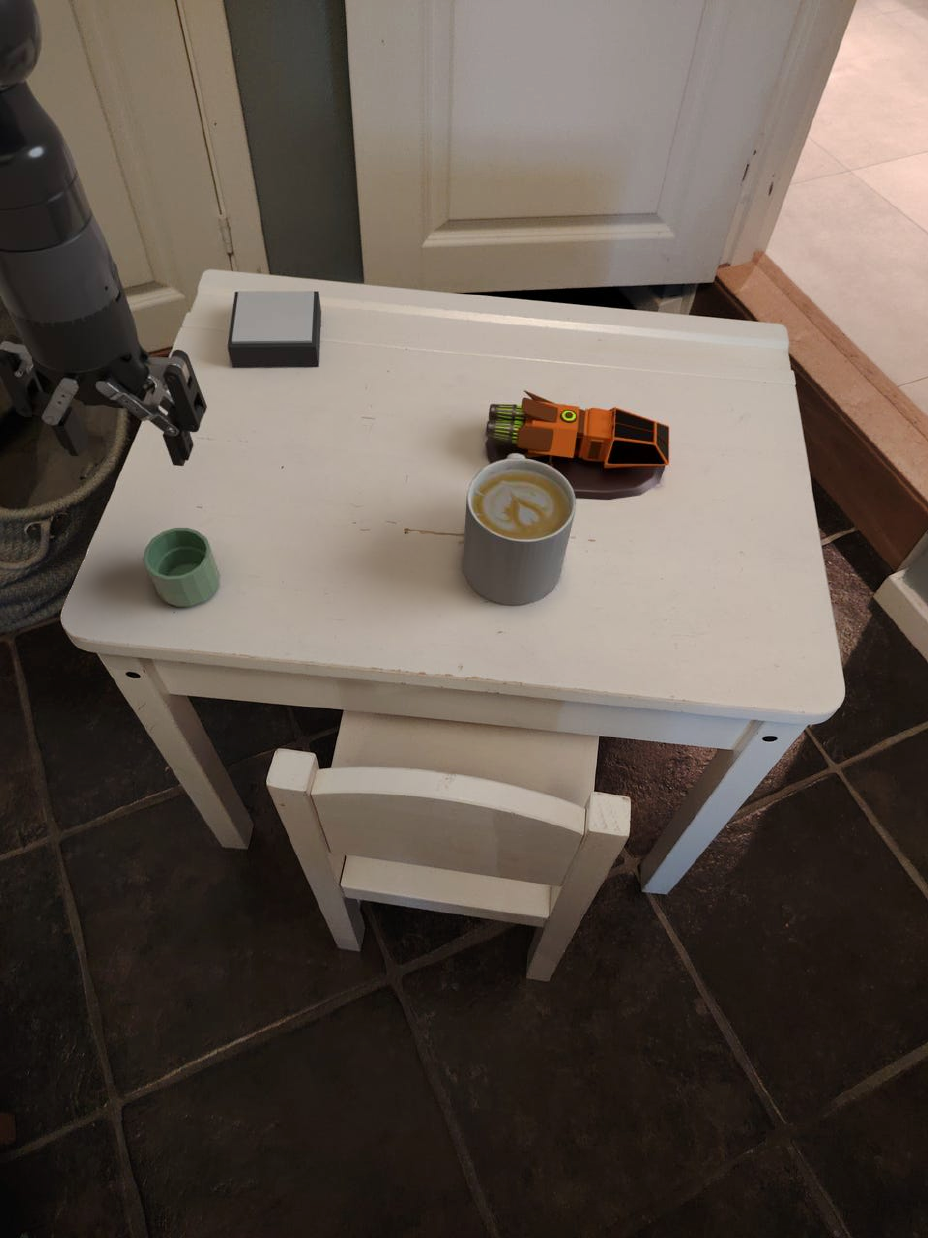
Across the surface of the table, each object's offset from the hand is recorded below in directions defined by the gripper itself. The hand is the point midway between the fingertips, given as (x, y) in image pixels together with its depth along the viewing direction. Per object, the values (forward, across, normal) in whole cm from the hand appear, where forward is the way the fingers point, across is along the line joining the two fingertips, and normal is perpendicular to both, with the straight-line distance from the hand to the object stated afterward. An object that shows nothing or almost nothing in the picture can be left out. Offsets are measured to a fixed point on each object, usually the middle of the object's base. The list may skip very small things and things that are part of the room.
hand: (131, 453), depth 69 cm
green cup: (+15, +2, -2) cm, 15 cm away
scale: (+15, +3, +34) cm, 37 cm away
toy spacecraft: (+15, +39, +19) cm, 46 cm away
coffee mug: (+15, +33, +5) cm, 37 cm away
